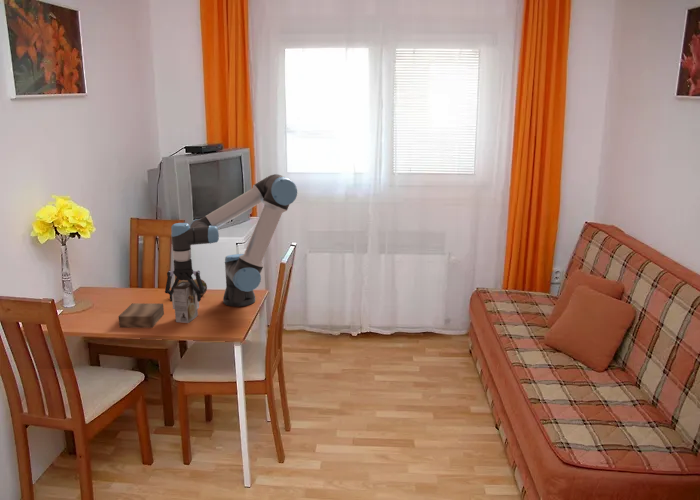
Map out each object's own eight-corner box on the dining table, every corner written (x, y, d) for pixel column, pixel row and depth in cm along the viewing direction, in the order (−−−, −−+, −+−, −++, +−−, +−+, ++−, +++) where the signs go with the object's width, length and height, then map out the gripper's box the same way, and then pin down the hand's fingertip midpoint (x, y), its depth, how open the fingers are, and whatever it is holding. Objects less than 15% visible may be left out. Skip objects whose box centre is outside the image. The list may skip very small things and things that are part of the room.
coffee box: (185, 314, 266) (182, 280, 261) (198, 315, 264) (195, 281, 260) (175, 322, 257) (172, 287, 253) (188, 323, 256) (186, 288, 252)
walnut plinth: (164, 313, 266) (163, 303, 265) (152, 327, 251) (151, 316, 250) (133, 313, 266) (132, 303, 265) (119, 327, 251) (118, 316, 250)
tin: (175, 297, 288) (174, 281, 286) (176, 295, 291) (175, 279, 289) (207, 296, 291) (206, 279, 288) (207, 293, 294) (206, 277, 291)
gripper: (210, 256, 257) (213, 305, 263) (159, 256, 257) (163, 305, 263) (206, 261, 250) (209, 311, 256) (154, 261, 250) (158, 311, 256)
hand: (186, 308), depth 259 cm, fingers open, 9 cm apart
